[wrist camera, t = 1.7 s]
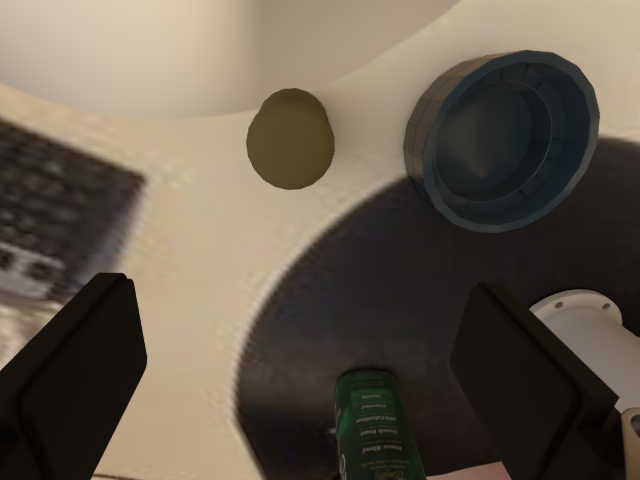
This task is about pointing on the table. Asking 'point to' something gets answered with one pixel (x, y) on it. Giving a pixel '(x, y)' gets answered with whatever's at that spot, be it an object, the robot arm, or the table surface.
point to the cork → (291, 140)
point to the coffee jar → (374, 429)
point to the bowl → (502, 139)
